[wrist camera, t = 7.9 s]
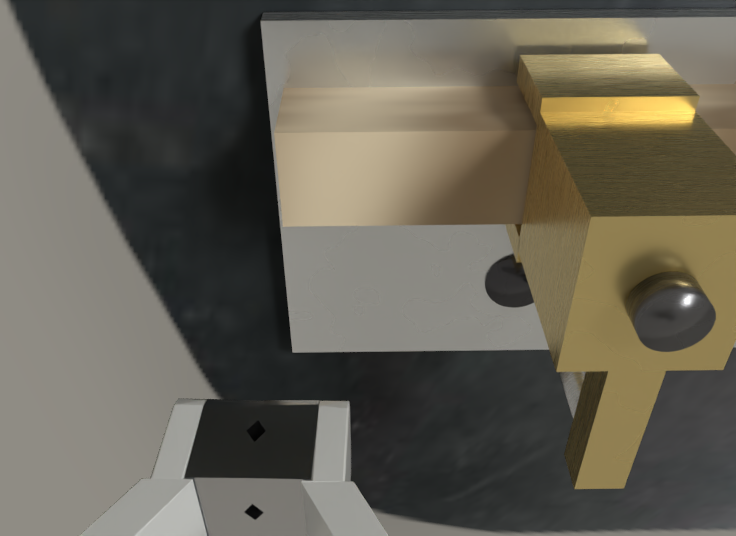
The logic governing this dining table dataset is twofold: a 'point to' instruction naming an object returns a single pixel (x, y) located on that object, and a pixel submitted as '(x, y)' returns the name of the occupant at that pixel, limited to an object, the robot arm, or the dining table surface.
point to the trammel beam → (420, 153)
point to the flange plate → (444, 242)
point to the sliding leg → (624, 243)
